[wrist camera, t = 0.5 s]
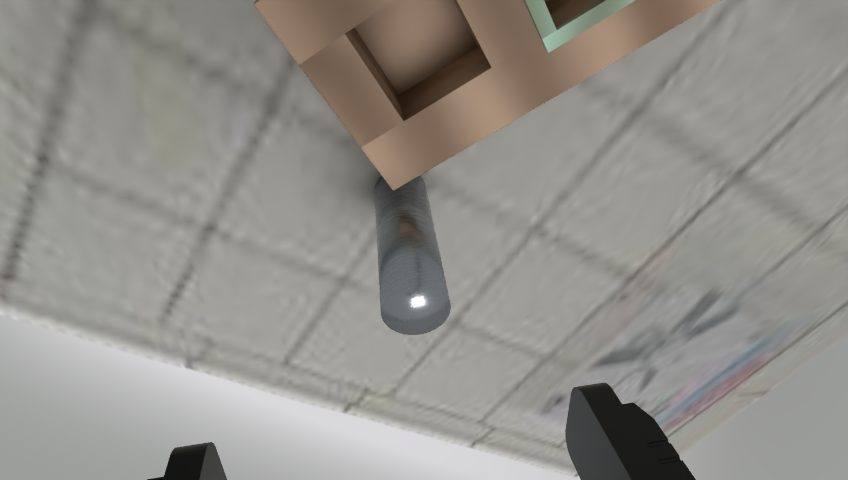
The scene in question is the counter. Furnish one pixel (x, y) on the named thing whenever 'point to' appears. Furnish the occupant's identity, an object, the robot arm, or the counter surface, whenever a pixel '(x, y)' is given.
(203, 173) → the counter surface
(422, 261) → the pin
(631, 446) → the robot arm
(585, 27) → the bore block
